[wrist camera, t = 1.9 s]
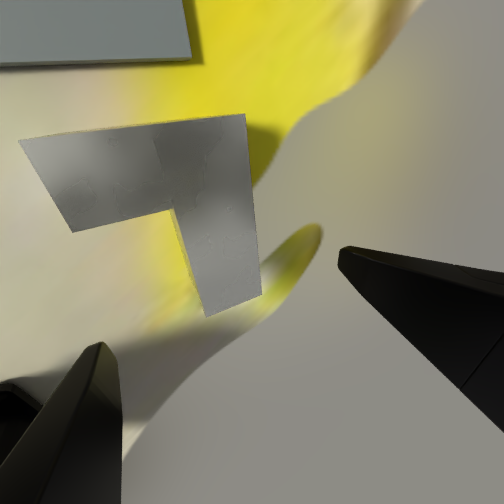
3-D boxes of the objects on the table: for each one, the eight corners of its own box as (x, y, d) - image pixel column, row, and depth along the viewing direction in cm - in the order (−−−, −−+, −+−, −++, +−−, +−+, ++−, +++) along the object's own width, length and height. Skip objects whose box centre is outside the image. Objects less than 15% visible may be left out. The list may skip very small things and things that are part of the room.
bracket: (233, 257, 15) (262, 294, 12) (136, 290, 13) (139, 345, 10) (210, 116, 10) (245, 113, 7) (58, 133, 8) (17, 140, 5)
